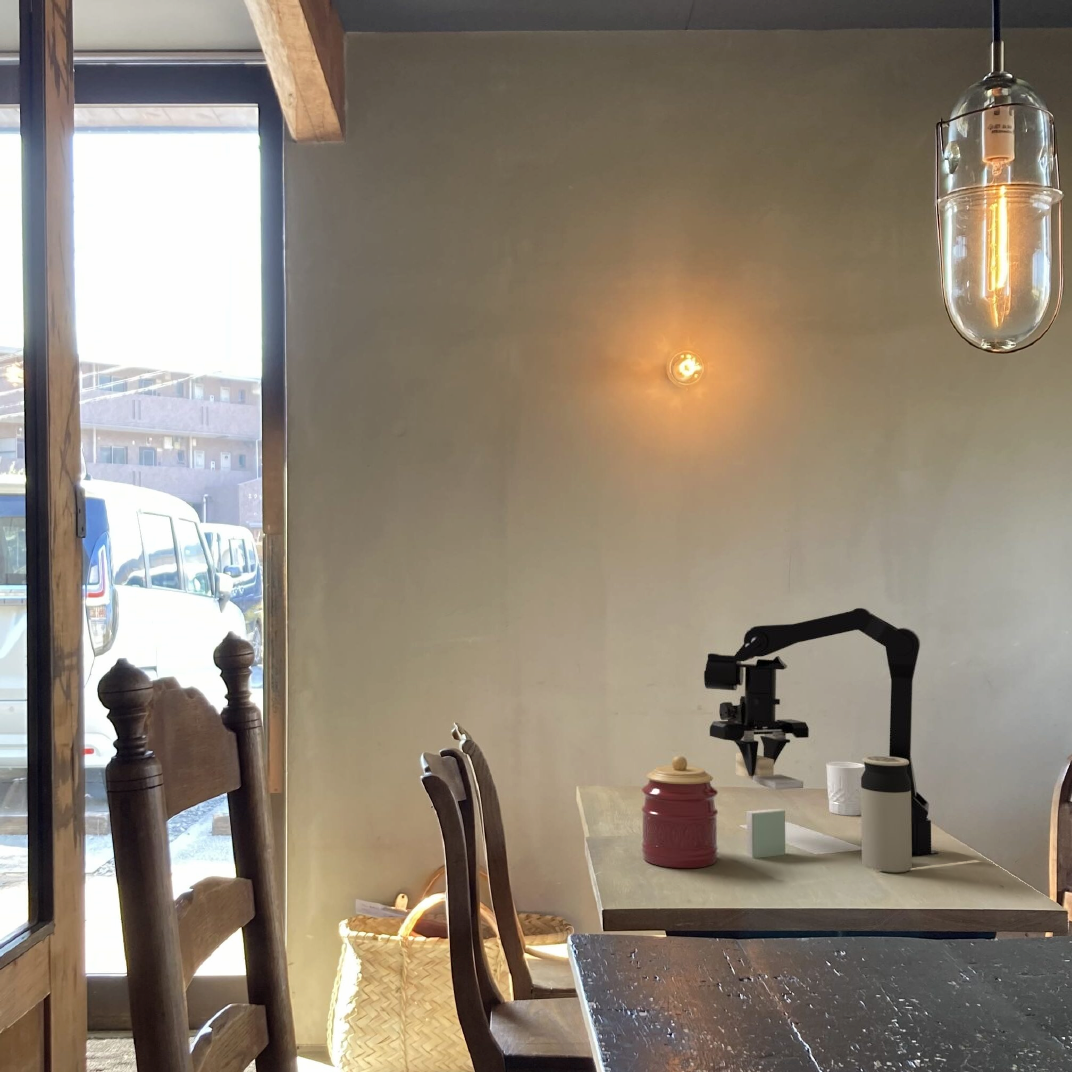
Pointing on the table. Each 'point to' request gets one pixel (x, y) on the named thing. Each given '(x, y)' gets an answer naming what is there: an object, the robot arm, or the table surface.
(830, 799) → the white cup
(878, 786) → the travel mug
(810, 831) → the mat
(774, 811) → the tile
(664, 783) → the canister
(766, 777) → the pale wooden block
